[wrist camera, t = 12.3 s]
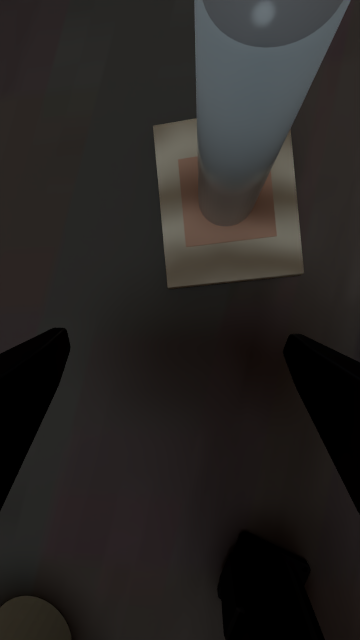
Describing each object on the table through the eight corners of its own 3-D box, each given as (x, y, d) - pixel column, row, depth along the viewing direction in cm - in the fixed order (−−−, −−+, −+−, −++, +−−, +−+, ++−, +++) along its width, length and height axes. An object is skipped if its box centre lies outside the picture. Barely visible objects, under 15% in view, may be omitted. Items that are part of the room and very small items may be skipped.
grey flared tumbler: (267, 196, 20) (400, -51, 7) (226, 238, 20) (275, 83, 7) (226, 158, 20) (275, -148, 7) (186, 200, 20) (161, -16, 7)
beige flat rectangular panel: (298, 275, 20) (304, 273, 19) (169, 289, 22) (167, 287, 20) (283, 113, 20) (288, 101, 19) (155, 134, 22) (152, 124, 20)
